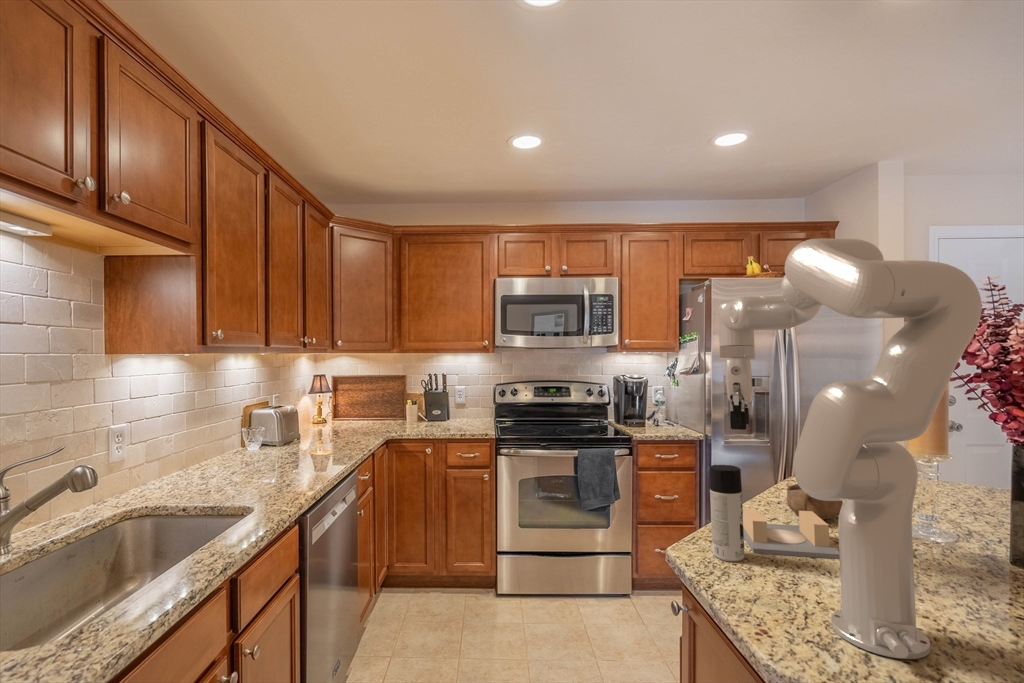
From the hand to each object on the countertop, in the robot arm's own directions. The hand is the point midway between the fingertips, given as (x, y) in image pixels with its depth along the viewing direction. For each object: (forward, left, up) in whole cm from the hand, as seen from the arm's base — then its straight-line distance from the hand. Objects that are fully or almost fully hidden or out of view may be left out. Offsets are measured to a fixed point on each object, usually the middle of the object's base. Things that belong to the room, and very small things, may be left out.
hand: (740, 426), depth 112 cm
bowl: (+27, -24, -29) cm, 46 cm away
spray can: (-4, +4, -29) cm, 30 cm away
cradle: (+8, -11, -29) cm, 31 cm away
